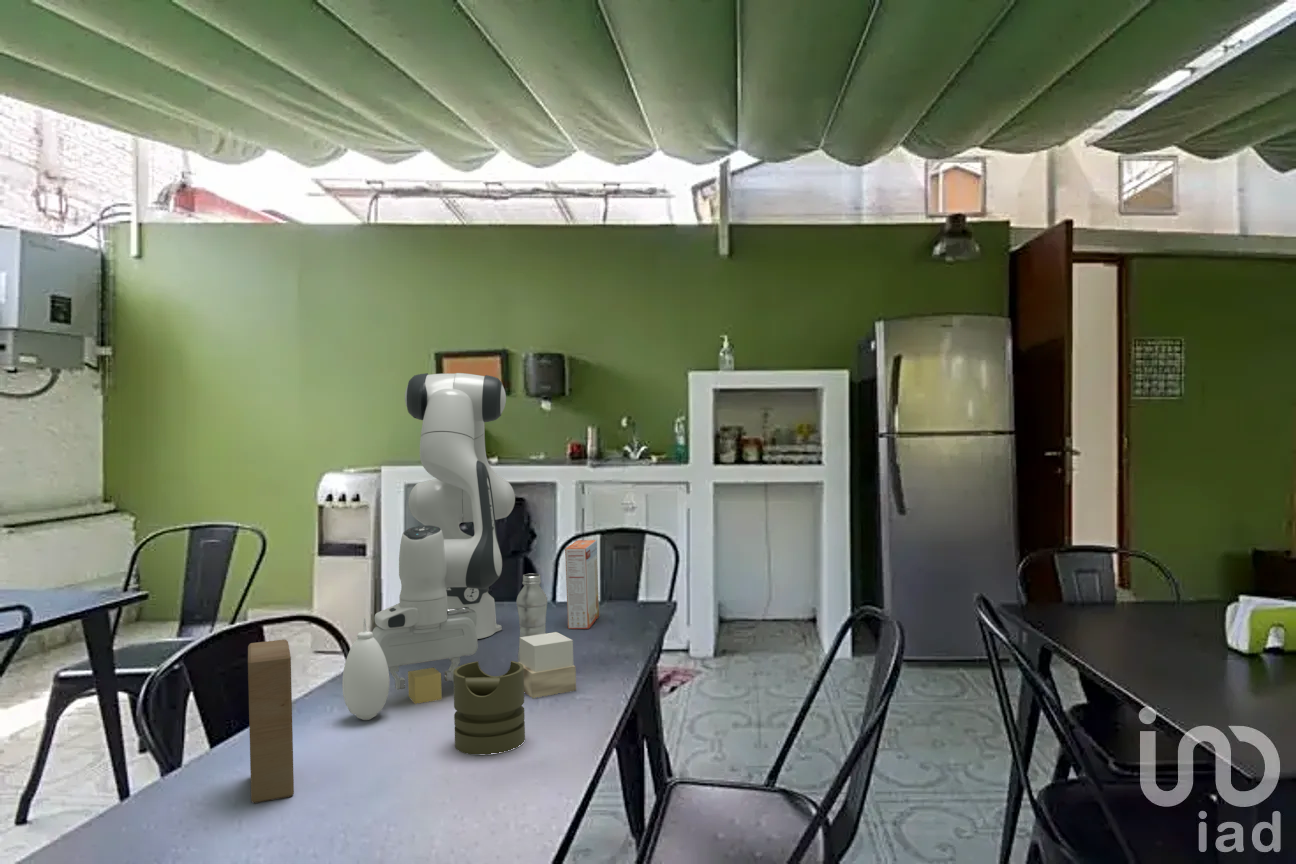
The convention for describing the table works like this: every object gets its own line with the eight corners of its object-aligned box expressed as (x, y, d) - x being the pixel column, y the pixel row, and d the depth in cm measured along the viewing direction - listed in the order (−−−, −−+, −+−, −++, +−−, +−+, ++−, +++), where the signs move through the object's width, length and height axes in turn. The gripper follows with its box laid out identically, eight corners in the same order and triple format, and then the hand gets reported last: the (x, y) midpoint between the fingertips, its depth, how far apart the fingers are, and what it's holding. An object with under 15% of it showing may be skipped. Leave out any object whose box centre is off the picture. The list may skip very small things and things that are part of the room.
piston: (516, 678, 136) (445, 679, 137) (518, 755, 137) (446, 755, 137) (528, 659, 148) (462, 660, 148) (530, 729, 148) (464, 730, 148)
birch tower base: (515, 687, 173) (515, 662, 173) (557, 680, 177) (557, 655, 177) (532, 699, 165) (532, 673, 165) (576, 691, 169) (575, 666, 169)
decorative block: (251, 775, 130) (248, 642, 130) (292, 769, 132) (289, 638, 132) (249, 805, 120) (246, 660, 120) (294, 797, 122) (290, 655, 122)
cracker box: (577, 617, 234) (576, 539, 234) (599, 617, 233) (598, 539, 233) (565, 629, 220) (564, 547, 220) (589, 629, 219) (587, 547, 219)
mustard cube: (408, 697, 167) (408, 671, 167) (434, 693, 170) (433, 667, 170) (415, 704, 163) (414, 677, 163) (441, 699, 165) (441, 673, 165)
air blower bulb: (398, 713, 158) (396, 614, 157) (371, 727, 150) (369, 623, 150) (362, 709, 160) (360, 612, 160) (334, 723, 153) (331, 621, 153)
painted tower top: (519, 662, 173) (519, 637, 172) (556, 656, 176) (556, 632, 176) (534, 672, 166) (534, 646, 165) (573, 665, 169) (572, 640, 169)
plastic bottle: (544, 674, 181) (542, 578, 181) (513, 672, 182) (511, 577, 182) (553, 665, 187) (551, 572, 187) (523, 664, 188) (521, 572, 188)
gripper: (471, 603, 174) (472, 672, 174) (366, 615, 164) (367, 689, 164) (481, 608, 168) (483, 679, 168) (373, 621, 158) (374, 697, 158)
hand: (425, 684), depth 166 cm, fingers open, 8 cm apart
